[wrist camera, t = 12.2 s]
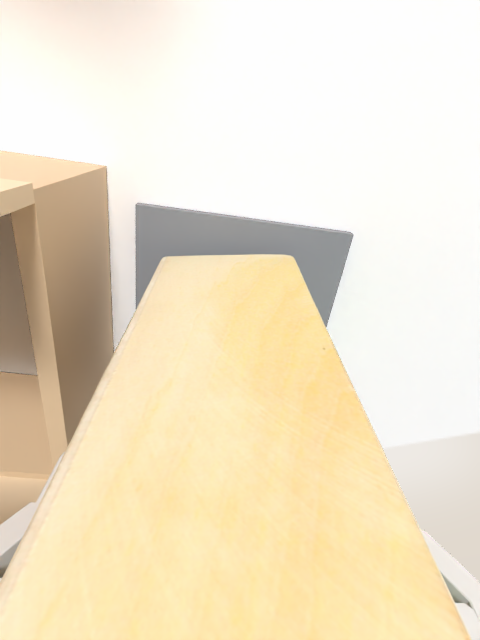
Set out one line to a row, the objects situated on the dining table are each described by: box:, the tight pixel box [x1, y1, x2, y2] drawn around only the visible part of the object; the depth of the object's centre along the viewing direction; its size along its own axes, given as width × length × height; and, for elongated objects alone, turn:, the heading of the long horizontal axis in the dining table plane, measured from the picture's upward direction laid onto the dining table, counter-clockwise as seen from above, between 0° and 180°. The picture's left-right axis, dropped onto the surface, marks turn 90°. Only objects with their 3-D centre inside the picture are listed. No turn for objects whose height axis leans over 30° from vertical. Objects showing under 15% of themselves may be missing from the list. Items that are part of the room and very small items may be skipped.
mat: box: [136, 203, 353, 327], centre depth 21 cm, size 11×11×1 cm
